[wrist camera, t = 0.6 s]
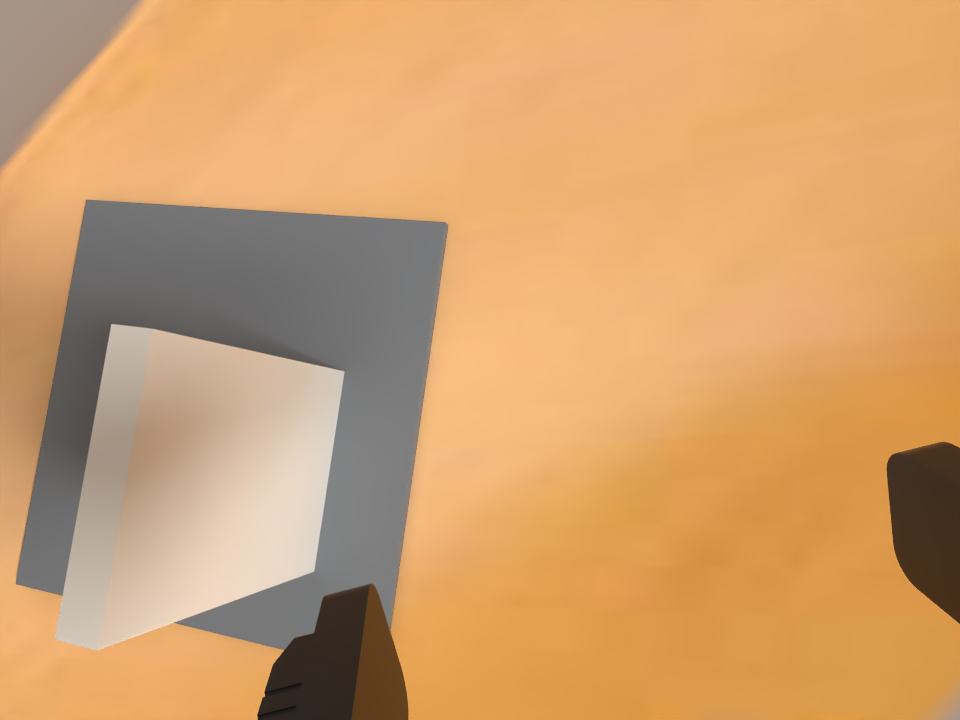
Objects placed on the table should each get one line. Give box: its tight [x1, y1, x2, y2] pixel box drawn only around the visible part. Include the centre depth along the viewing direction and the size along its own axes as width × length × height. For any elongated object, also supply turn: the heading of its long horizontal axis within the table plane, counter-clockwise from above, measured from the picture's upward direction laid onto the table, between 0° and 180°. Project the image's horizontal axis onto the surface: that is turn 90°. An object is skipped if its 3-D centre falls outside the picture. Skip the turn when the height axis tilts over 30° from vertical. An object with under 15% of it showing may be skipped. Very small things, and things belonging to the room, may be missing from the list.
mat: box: [16, 200, 448, 650], centre depth 38 cm, size 22×22×1 cm
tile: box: [55, 324, 345, 651], centre depth 29 cm, size 10×2×14 cm, turn 172°
